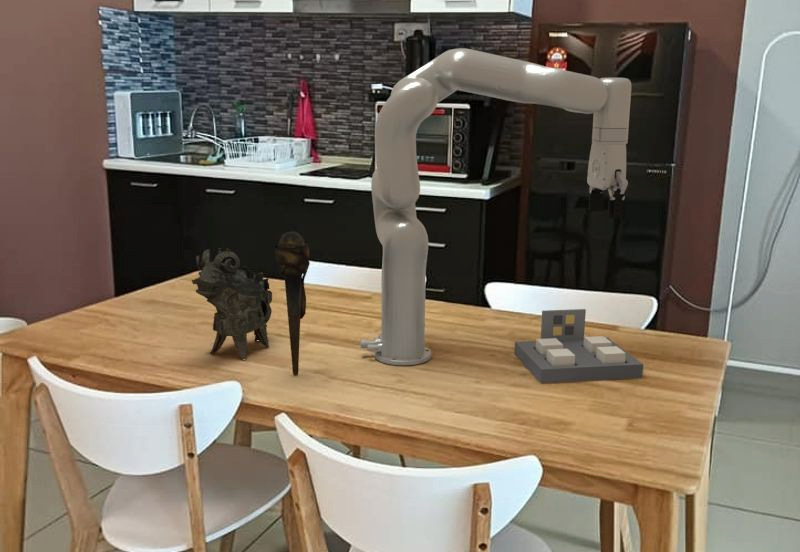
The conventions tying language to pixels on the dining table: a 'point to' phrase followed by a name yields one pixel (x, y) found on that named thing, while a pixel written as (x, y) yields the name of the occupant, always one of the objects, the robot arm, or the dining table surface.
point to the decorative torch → (294, 285)
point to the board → (576, 364)
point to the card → (563, 324)
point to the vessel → (234, 299)
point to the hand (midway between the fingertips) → (604, 214)
